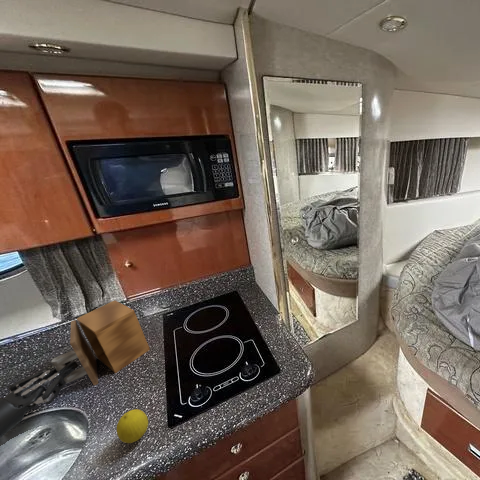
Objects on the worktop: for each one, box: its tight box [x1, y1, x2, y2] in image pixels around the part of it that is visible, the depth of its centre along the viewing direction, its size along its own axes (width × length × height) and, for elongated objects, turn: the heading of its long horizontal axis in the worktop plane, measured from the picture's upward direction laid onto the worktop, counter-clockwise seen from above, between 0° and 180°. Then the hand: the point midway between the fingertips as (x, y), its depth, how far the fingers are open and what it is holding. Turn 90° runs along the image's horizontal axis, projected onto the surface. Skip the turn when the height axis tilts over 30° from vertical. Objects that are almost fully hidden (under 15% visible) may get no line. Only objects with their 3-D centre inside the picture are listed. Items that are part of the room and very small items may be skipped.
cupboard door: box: [50, 319, 99, 386], centre depth 70 cm, size 6×12×16 cm, turn 43°
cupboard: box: [76, 299, 151, 374], centre depth 78 cm, size 10×12×16 cm
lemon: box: [116, 408, 149, 444], centre depth 56 cm, size 6×6×8 cm
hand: (72, 362), depth 68 cm, fingers closed on cupboard door, 2 cm apart
